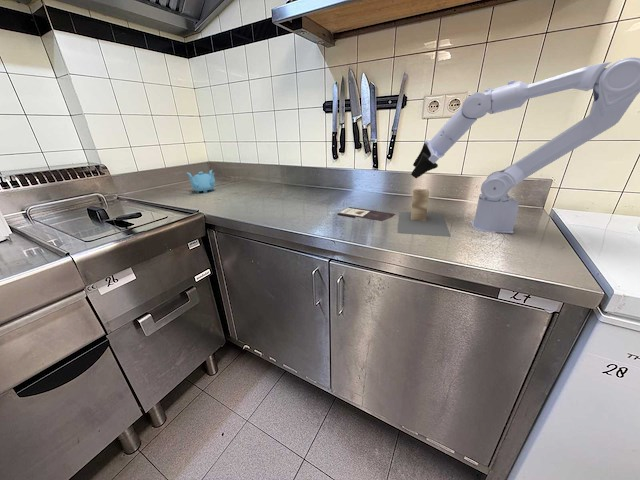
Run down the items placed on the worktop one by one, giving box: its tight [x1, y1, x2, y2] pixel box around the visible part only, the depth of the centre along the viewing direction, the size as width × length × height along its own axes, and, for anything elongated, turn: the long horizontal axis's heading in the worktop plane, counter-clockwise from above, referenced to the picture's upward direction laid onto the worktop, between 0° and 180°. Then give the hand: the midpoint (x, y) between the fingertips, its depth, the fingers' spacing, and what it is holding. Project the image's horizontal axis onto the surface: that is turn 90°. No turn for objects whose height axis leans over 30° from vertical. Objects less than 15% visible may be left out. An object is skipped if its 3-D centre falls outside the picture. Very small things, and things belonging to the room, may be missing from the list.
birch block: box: [410, 188, 430, 221], centre depth 85 cm, size 4×4×9 cm
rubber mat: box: [397, 211, 452, 238], centre depth 83 cm, size 14×20×1 cm
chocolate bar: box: [337, 206, 396, 222], centre depth 93 cm, size 9×1×18 cm
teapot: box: [186, 169, 216, 194], centre depth 138 cm, size 13×13×10 cm
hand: (414, 171), depth 85 cm, fingers open, 7 cm apart
